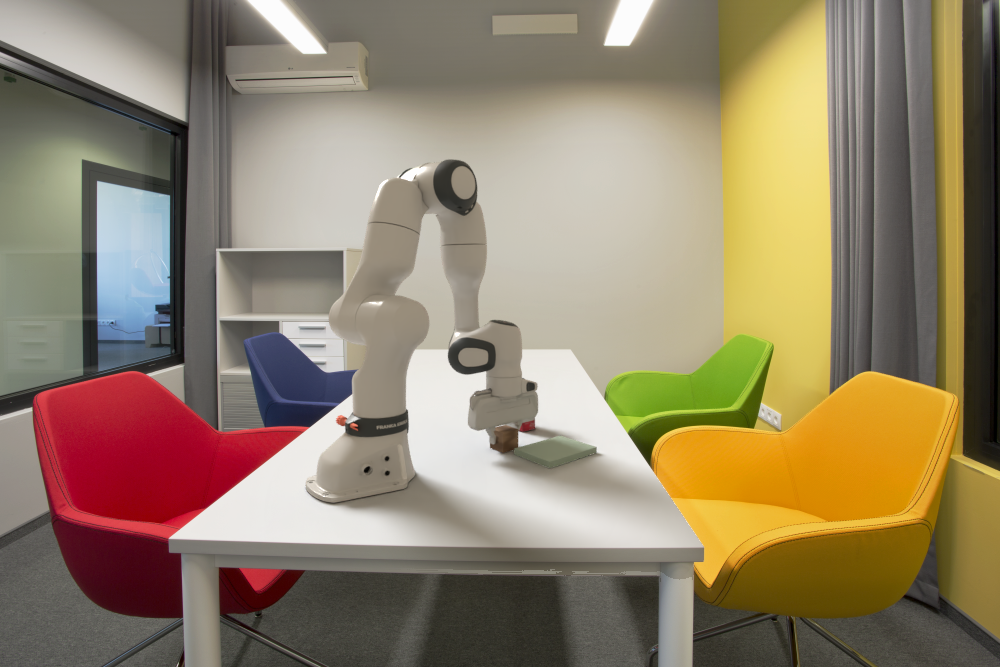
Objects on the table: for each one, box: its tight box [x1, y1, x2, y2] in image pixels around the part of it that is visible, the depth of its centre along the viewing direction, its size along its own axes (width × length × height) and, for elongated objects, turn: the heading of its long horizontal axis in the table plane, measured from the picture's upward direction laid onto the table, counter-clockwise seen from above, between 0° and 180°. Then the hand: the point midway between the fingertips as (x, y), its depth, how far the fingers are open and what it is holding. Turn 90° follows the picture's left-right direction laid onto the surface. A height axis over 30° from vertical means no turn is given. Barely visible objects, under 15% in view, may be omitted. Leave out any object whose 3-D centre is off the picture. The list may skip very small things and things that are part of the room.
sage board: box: [513, 435, 598, 469], centre depth 130 cm, size 16×12×2 cm
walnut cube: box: [489, 425, 519, 454], centre depth 134 cm, size 5×5×5 cm
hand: (504, 440), depth 134 cm, fingers closed on walnut cube, 5 cm apart
